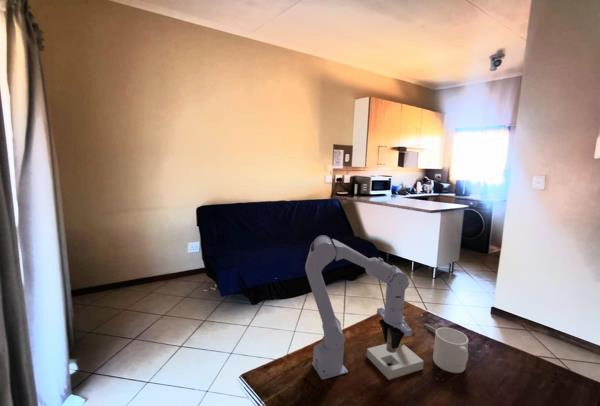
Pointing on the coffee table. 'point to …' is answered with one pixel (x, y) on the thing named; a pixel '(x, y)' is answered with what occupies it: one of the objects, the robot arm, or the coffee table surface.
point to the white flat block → (394, 360)
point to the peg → (389, 343)
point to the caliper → (430, 328)
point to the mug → (450, 350)
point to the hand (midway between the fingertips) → (391, 344)
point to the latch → (406, 340)
